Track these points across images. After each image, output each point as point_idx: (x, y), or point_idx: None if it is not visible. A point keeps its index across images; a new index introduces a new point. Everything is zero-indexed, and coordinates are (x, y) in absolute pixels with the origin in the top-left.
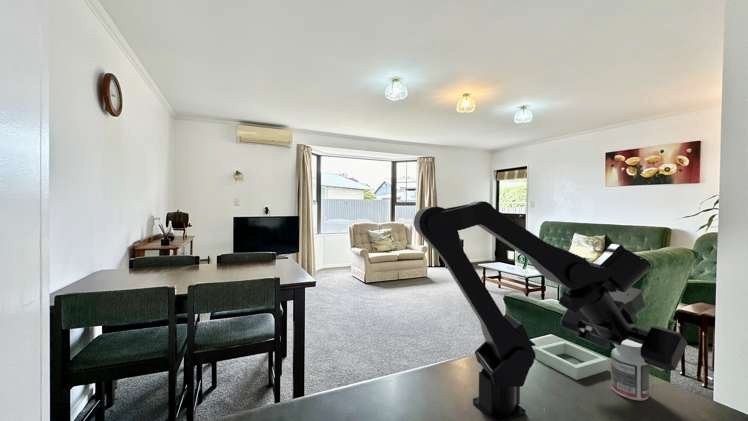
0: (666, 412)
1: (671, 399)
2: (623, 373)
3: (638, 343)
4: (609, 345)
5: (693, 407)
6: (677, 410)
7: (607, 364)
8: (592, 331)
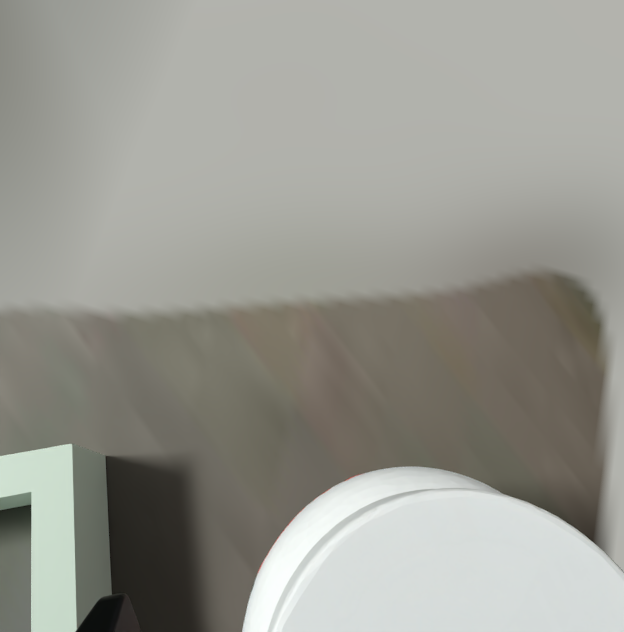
0: None
1: (469, 395)
2: None
3: (563, 624)
4: (125, 615)
5: (548, 359)
6: (569, 482)
7: (88, 451)
8: None
